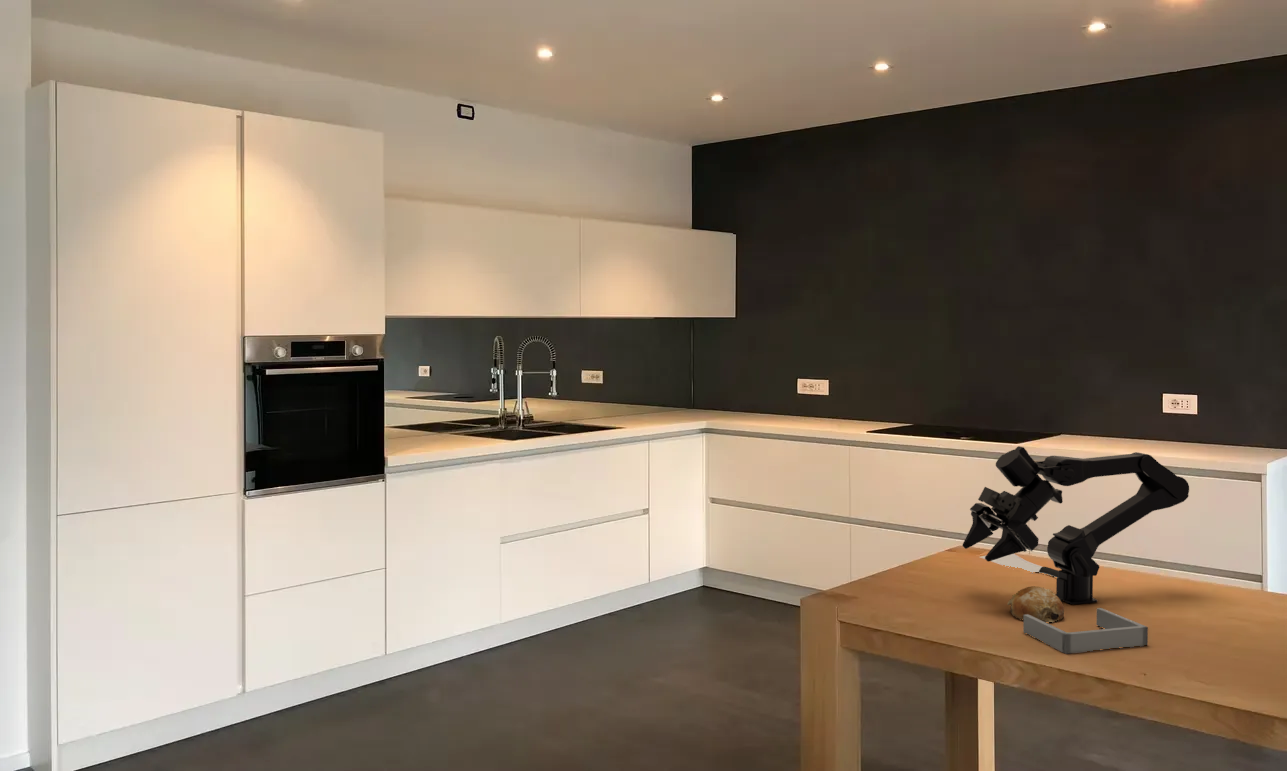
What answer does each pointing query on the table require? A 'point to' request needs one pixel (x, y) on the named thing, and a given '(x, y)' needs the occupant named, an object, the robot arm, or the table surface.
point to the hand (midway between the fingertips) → (974, 553)
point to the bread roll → (1037, 604)
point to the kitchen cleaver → (1023, 564)
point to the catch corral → (1090, 634)
